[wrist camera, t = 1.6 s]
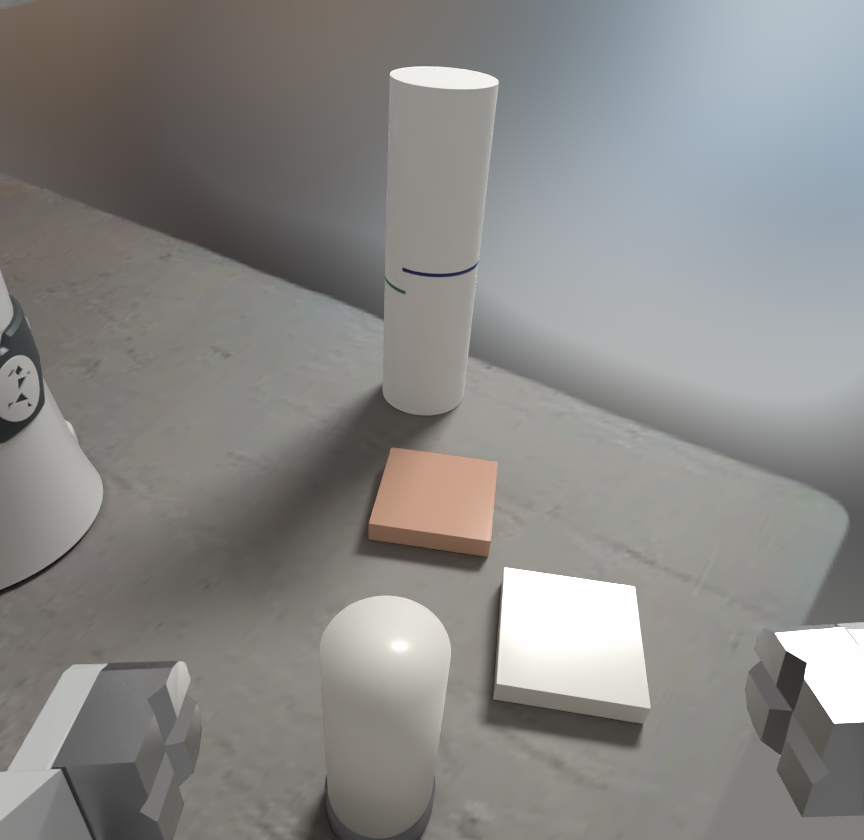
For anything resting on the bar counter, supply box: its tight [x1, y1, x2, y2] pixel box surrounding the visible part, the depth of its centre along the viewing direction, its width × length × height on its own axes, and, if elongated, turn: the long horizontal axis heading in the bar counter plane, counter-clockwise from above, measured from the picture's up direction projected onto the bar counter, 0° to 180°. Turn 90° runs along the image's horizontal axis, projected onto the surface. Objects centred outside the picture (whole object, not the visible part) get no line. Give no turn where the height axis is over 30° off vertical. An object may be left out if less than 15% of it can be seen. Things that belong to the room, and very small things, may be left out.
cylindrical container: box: [383, 66, 499, 415], centre depth 52 cm, size 7×7×25 cm
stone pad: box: [493, 567, 651, 724], centre depth 39 cm, size 8×8×2 cm
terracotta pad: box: [369, 447, 498, 557], centre depth 47 cm, size 8×8×2 cm
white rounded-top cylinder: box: [319, 596, 451, 840], centre depth 28 cm, size 5×5×12 cm
